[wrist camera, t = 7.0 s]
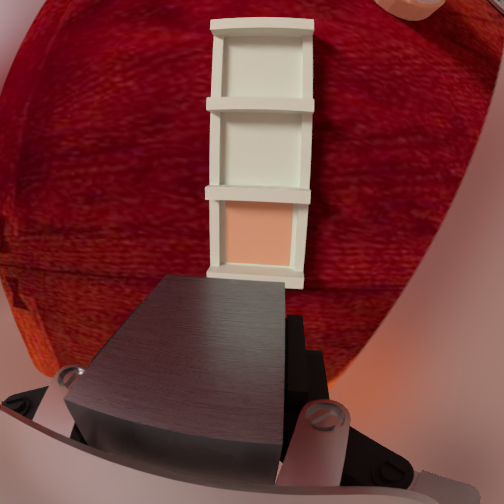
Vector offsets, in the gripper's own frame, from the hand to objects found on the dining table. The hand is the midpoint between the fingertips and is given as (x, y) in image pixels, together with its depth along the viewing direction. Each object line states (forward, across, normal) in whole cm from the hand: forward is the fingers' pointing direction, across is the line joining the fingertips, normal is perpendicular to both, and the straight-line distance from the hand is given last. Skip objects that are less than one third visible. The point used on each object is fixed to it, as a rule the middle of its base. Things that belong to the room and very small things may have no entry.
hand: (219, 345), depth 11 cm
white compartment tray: (+16, 0, -7) cm, 18 cm away
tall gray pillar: (+1, 0, 0) cm, 1 cm away
